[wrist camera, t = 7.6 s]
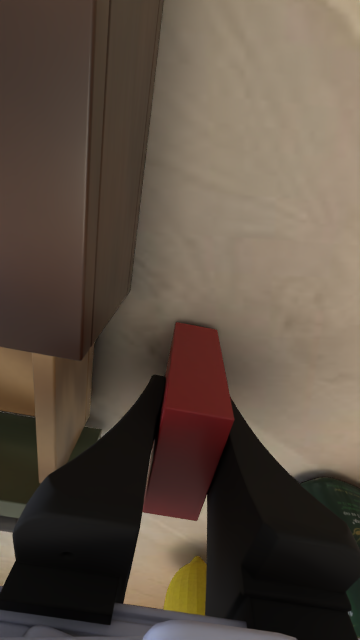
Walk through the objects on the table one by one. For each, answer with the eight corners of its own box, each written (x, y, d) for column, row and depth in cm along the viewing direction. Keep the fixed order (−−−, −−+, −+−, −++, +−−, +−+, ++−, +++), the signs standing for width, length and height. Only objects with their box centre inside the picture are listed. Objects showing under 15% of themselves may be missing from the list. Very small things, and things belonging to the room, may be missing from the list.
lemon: (177, 533, 22) (169, 694, 15) (238, 547, 23) (260, 710, 16) (159, 565, 25) (146, 719, 17) (215, 577, 25) (225, 731, 18)
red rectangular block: (195, 408, 16) (197, 521, 10) (159, 401, 16) (141, 512, 10) (217, 329, 14) (235, 419, 8) (175, 321, 14) (164, 407, 8)
